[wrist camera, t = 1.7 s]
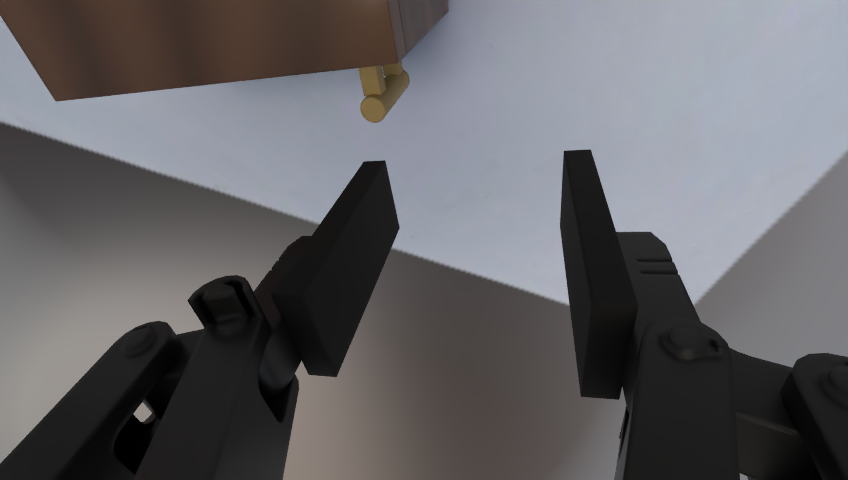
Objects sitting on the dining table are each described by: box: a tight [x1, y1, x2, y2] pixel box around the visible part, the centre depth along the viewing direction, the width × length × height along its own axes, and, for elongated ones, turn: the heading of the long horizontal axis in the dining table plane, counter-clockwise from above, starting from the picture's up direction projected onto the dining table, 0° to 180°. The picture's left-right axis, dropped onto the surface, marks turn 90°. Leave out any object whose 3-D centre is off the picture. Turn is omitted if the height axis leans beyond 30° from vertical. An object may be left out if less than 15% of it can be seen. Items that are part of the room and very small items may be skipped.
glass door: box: [358, 61, 410, 123], centre depth 24 cm, size 8×5×10 cm, turn 98°
